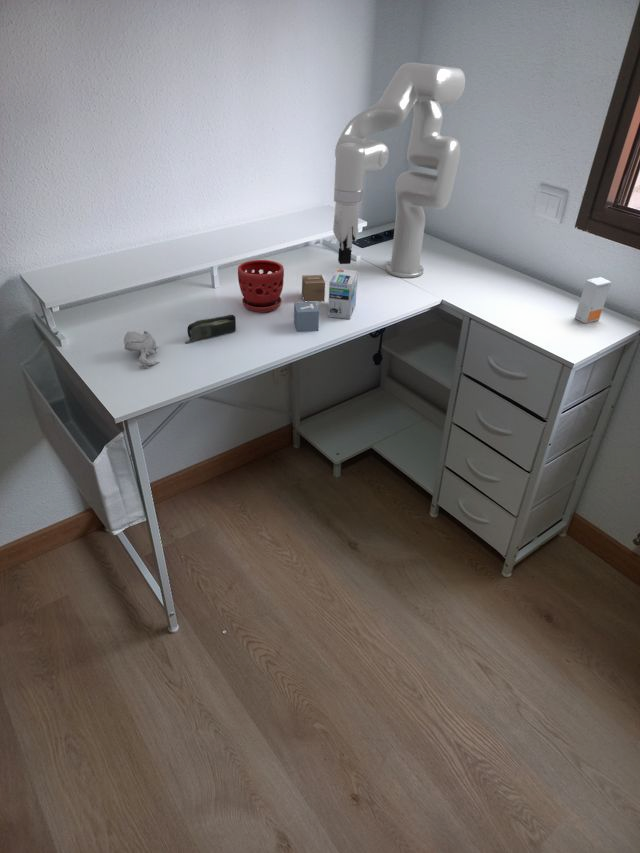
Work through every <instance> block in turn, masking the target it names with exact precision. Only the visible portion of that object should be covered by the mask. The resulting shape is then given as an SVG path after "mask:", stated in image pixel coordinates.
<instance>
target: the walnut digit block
mask: <svg viewBox="0 0 640 853" xmlns="http://www.w3.org/2000/svg"><path fill="white" fill-rule="evenodd" d="M302 294H303V296H302V298H303V297H304V299H303V301H304V302H305V301H318V302H325V296H326V282H325V279H324V277H323V275H322V274H309V275H308V274H307V275H306V274H305V275H304V274H303V275H301V295H302Z"/></svg>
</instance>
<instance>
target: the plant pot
mask: <svg viewBox="0 0 640 853" xmlns="http://www.w3.org/2000/svg"><path fill="white" fill-rule="evenodd" d="M284 269H285V268H284V266H283V265H282V264H281V263H280V262H278V261H273V260H269V259H254V260H249V261H245V262H242V263H241V264H239V265H238V267H237V279H238V285H239V289H240V290H239V291H240V292H241V295H242V296H243V297H242V299H241V302H242V305H243V306H244V307H245V308H246V309H248V310H250V311H253V312H257V313H261V312H262V313H266V312H268V311H269V312H271V311H274V310H276V309H277V308H279V307H280V306H281V305H282V301H283V300H282V297H281V294H282V292H283V288H284V283H285V281H284V279H285V278H284V277H285V270H284ZM260 270H261V271H262V273H260ZM253 271H254V272H253ZM269 272H270V273H269Z"/></svg>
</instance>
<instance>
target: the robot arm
mask: <svg viewBox="0 0 640 853" xmlns="http://www.w3.org/2000/svg"><path fill="white" fill-rule="evenodd" d="M465 86H466V76H465V73H464V71H463V70H462V69H461V68H459V67H454V66H453V67H452V66H443V65H438V64H429V63H421V62H406V63H403V64H402V65H400V67H399V68H397V70H396V72H395V74H394V76H392V78H391V80H390V82H389V84H388V85H387V86H386V88H385V91H384V92H383V94H382V96H381V97H380V99H379V101H378V102H377V103H375V104H373V105H371V106H369V107H367V108H366V109H365V110H362V111H361V112H360V113H358V114H357V115H355V116H353V118H351V120H349V121H348V123H347V124H346V125H345V127H344V129H343V131H341V134H340V136H339V138H338V140H337V143H336V145H335V149H334V158H335V166H334V168H335V170H334V190H333V191H334V192H333V193H334V194H333V202H335V206H334V215H333V228H332V231H333V232H332V233H333V234H334V237H335V238H336V239H337V241H338V258H337V260H338V263H339V265H350V264H351V262H352V261H351V259H352V248H353V242H354V243H355V242H356V241H357V239H358V231H359V213H360V212H359V207H360V206H359V205H360V204H362V203H363V198H364V197H363V196H364V182H365V174H366V173H376V172H379V171H381V170H383V168H385V167H386V165H387V164H388V161H389V159H390V158H389V157H390V152H389V148H388V146H387V145H386V144H385V143H384V142H382V141H379V140H374V139H369V138H366V137H368V136H370V135H373V134H375V133H379V132H384V131H388V130H391V129H394V128H397V127H400V126H401V125H403V123H405V121H406V120H407V117H408V116H409V114H410V112H411V110H412V109H413V121H412V127H411V130H410V131H411V132H410V136H409V142H408V146H407V154H406V155H407V156H406V158H407V161H408V163H409V164H410V165H412V166H415V167H418V168H423V169H429V170H434V171H436V172H437V175H435V174H431V173H427V172H423V171H417V170H415V171H414V170H407V171H404V172H401V173H400V174H399V176H398V177H397V179H396V181H395V182H396V183H395V190H394V191H395V202H396V203H395V204H396V206H395V207H396V208H395V210H396V211H395V222H394V230H393V231H394V232H393V238H392V239H393V241H392V250H391V260H390V262H388V263H387V264H386V265H385V271H386V272H387V273H388V274H390V275H392V276H395V277H398V278H408V279H409V278H417V277H420V276H422V275H423V274H424V269H425V268H424V267H423V266H422V265H421V264H420V263H421V256H422V248H423V242H424V241H423V240H424V235H425V226H426V214H425V211H424V208H427V209H433V210H437V211H439V210H440V211H441V210H443V209H445V208H446V207H447V206H448V205H449V203H450V200H451V197H452V194H453V189H454V186H455V180H456V176H457V172H458V167H459V165H460V164H459V163H460V158H461V146H460V142H459V140H457V139H456V138H454V137H452V136H447V135H441V130H442V124H443V120H444V119H443V118H444V114H443V110H442V107H441V104H440V103H455V102H457V101H458V100H459V99H460V98H461V97H462V95H463V93H464V91H465Z"/></svg>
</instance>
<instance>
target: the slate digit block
mask: <svg viewBox="0 0 640 853" xmlns="http://www.w3.org/2000/svg"><path fill="white" fill-rule="evenodd" d="M293 304H294V306H293V324H294V327H295V330H296V333H306V332H319V330H320V329H319V327H320V326H319V325H320V324H319V322H320V310H319V307H318V305H317V302H305V301H304V302H303V301H302V302H293Z"/></svg>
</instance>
